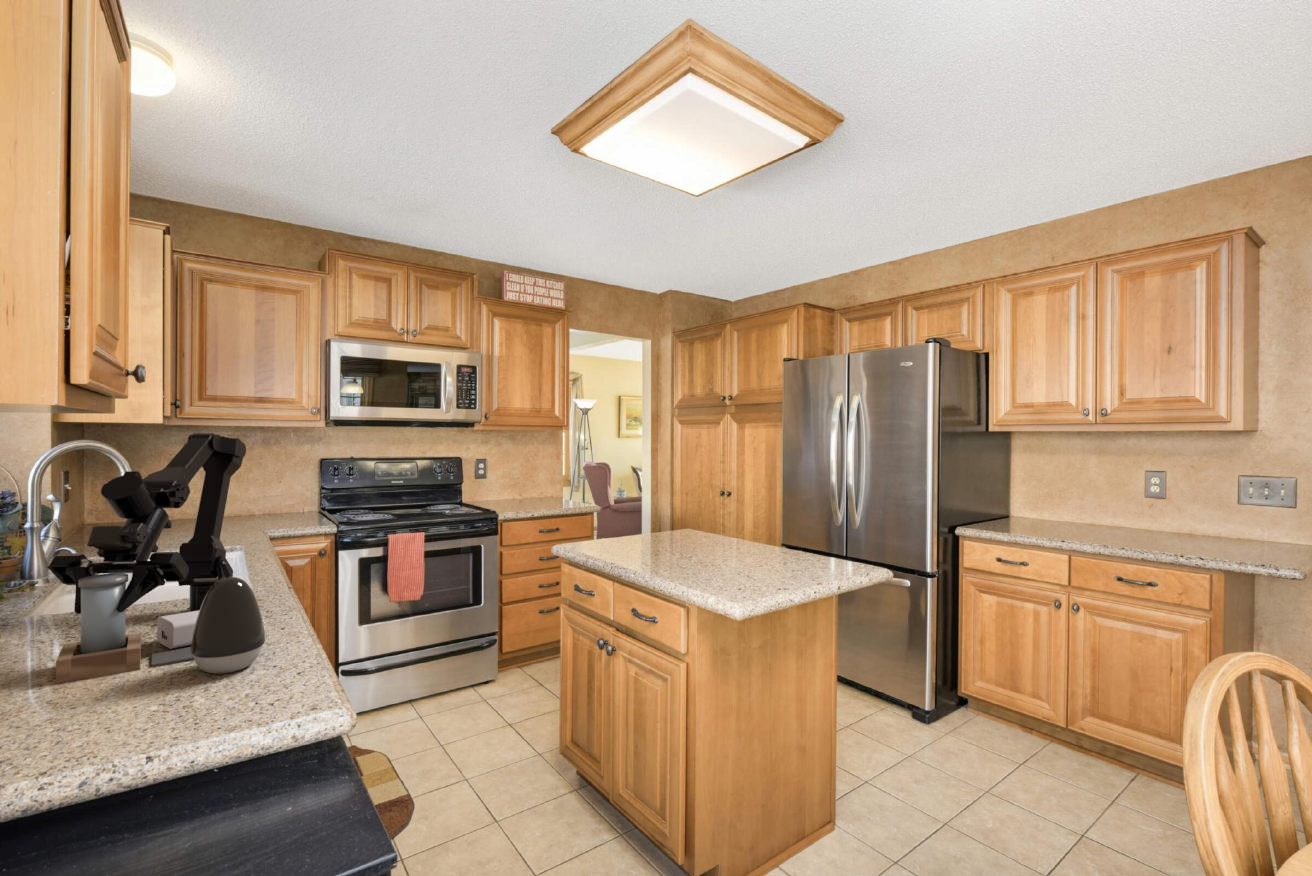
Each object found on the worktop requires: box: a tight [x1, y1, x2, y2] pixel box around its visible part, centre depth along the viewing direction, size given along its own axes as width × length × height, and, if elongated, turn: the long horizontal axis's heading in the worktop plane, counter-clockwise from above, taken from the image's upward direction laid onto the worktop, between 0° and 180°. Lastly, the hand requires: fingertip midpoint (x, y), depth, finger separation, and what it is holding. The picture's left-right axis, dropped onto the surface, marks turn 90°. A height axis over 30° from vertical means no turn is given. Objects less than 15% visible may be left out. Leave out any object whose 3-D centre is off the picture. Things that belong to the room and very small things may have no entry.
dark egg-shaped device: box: [190, 576, 266, 675], centre depth 103 cm, size 10×10×15 cm
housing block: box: [55, 632, 142, 685], centre depth 103 cm, size 10×10×4 cm
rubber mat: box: [151, 646, 195, 668], centre depth 108 cm, size 7×7×1 cm
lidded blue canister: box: [78, 573, 129, 654], centre depth 103 cm, size 6×6×12 cm
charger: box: [156, 610, 200, 650], centre depth 119 cm, size 5×9×15 cm
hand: (98, 612), depth 102 cm, fingers closed on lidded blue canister, 6 cm apart
